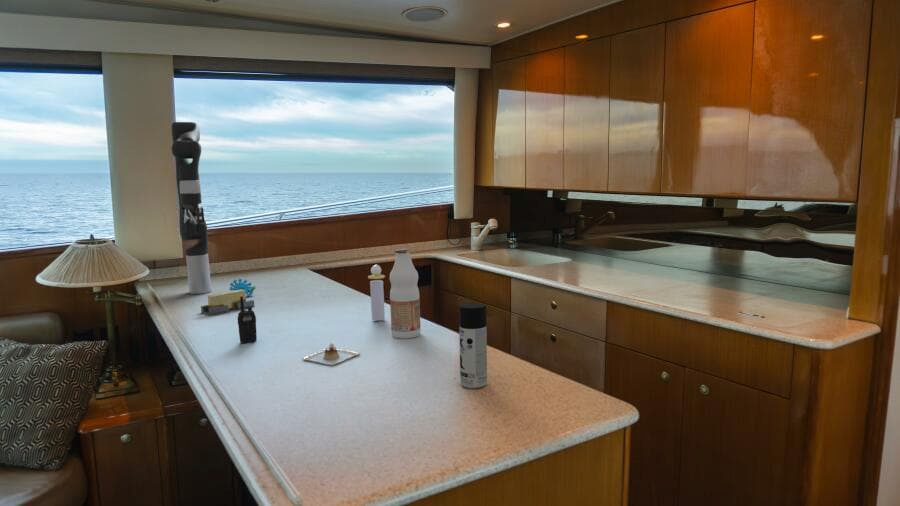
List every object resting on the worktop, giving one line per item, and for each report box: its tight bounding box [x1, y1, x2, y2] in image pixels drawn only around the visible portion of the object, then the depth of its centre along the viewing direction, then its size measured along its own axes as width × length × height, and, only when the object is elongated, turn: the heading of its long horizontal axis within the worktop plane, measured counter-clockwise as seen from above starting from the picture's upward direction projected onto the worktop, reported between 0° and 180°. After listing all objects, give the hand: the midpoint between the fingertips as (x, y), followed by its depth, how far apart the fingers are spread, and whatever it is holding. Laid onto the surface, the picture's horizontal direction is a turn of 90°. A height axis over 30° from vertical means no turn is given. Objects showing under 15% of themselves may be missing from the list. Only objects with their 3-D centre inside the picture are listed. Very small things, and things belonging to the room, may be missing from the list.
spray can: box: [458, 302, 488, 390], centre depth 147 cm, size 7×7×20 cm
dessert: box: [300, 343, 361, 367], centre depth 172 cm, size 12×12×5 cm
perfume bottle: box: [367, 264, 386, 321], centre depth 211 cm, size 6×6×20 cm
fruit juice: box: [389, 247, 422, 340], centre depth 191 cm, size 9×9×28 cm
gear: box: [229, 278, 257, 298], centre depth 259 cm, size 11×6×10 cm
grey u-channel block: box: [200, 299, 255, 316], centre depth 235 cm, size 8×18×2 cm, turn 139°
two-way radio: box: [237, 296, 257, 344], centre depth 189 cm, size 6×4×15 cm
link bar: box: [207, 290, 247, 310], centre depth 235 cm, size 3×14×6 cm, turn 139°
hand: (193, 233), depth 238 cm, fingers open, 8 cm apart
